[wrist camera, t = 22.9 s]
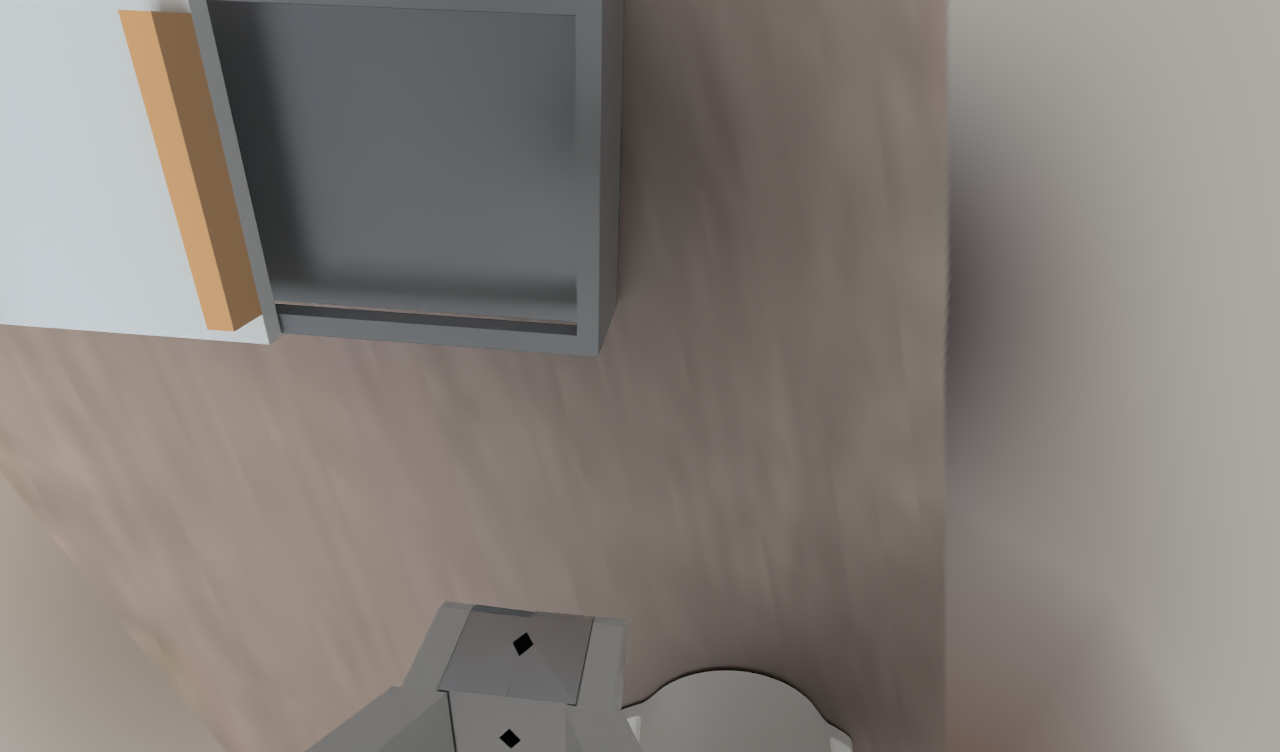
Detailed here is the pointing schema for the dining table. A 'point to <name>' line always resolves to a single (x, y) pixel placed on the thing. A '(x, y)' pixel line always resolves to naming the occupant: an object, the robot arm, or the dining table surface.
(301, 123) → the housing
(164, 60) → the lid
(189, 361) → the dining table surface
